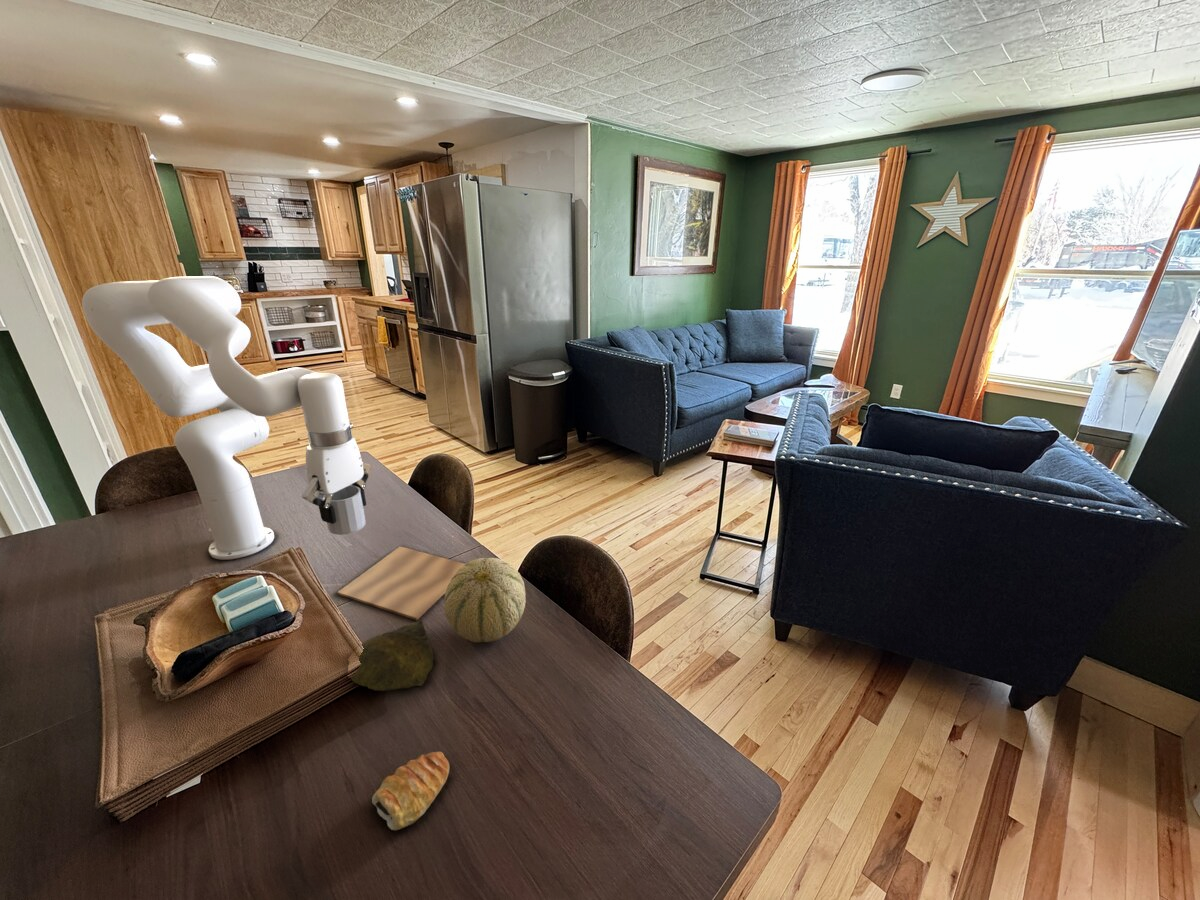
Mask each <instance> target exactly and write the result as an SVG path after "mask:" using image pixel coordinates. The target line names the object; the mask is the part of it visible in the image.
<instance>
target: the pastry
mask: <svg viewBox="0 0 1200 900" xmlns="http://www.w3.org/2000/svg"><path fill="white" fill-rule="evenodd" d="M450 768H451V767H450V762H449V760H448V759H447V758H446V757H445V754H444V753H443V752H442V751H432V752H430V753H426V754H419V756H418V757H417V758H415V759H410V760H409V761H407V763H406V764H403V765H401V766H399V767H398V768H396V770H395V771H394V773H393V774H392V775H387V776H386V777H384V779H383V781H382V782H381V785H380V787H379V788H378V789H377V790H376V791H375V793H374V794H373V795H372V797H371V803H372V805H374V807H375V808H376V812H377V814H378V815H379V817H381V818H382V819H383V820H385V821H386V824H387V827H388V828H389V829H390V830H391V831H399V830H402V829H404V828H406V827H408V826H409V827H410V826H411V825H413V824H414V823H416V822H417V821H418V820H419V819H420V818H421V817H422V816H423V815H424V814H425V813H426V811H427V810H428V809H429V808H430V806H431V804H433V802H434V800H435V799H436V797H437V796H438V794H439V793H440V792H441V791H442V788H443V787H444V786H445V784H446V782H447V780H448V777H449V774H450Z"/></svg>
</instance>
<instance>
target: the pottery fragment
mask: <svg viewBox="0 0 1200 900" xmlns="http://www.w3.org/2000/svg"><path fill="white" fill-rule="evenodd" d="M361 644H362V646H363V648H364V649H363V652H362V653H361V655H360V656H359V657H360V658H359V661H360V663H361V665H360V667H359V668H358V669H357V671H356V672H355V674H354V675H353V676H352V677H351V678H350V679H351V681H352V682H353V683H354V684H357V685H358V686H362V687H365V688H368V689H369V690H373V691H375V692H379V691H381V692H385V691H386V692H387V691H388V692H389V691H396V690H398V689H399V690H401V689H404V690H405V689H410V688H414V687H422V686H423V685H424V684H425V682H426V680H427V679H428V678H427V677H428V674H429V673H430V672H431V670H432V669H433V666H434V658H435V655H434V650H433V649H432V646H431V644H430V641H429V642H428V637H427V631H426V628H425V625H424V623H423V620H422V619H420V620H416V622H413V623H409V624H406V625H403V626H401V627H399V628H396V629H394V630H390V631H387V632H384V633H380V634H378V635H375V636H373V637H371V638H369V639H368V640H366V641H363V642H362V643H361Z"/></svg>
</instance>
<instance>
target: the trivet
mask: <svg viewBox="0 0 1200 900" xmlns="http://www.w3.org/2000/svg"><path fill="white" fill-rule="evenodd" d="M465 564H466V563H463V562H460V561H457V560H452V559H448V558H445V557H442V556H438V555H434V554H431V553H427V552H423V551H419V550H415V549H412V548H408V547H405V546H402V545H399V546H398V547H397V548H396V549H394V550H393V551H391V552H390V553H389V554H387V555H386V556H384V557H383V558H382V559H381V560H379V561H378V562H376V563H375V564H374V565H371V567H369V568H368V569H367V570H366V571H364V572H363V573H361V574H360V575H359V576H358V577H355V578H354V579H353V580H352V581H351V582H349V583H347V584H346V585H345V586H344V587H343V588H341V589H340V590H338V591H337V595H339V596H342V597H345V598H347V599H351V600H353V601H357V602H360V603H363V604H365V605H369V606H371V607H375V608H378V609H381V610H384V611H388V612H390V613H394V614H396V615H400V616H402V617H406V618H408V619H412V620H414V621H419V619H420V618H421V617H422V616H423V615H424V614H425V613H426V612H427V611H428V610H429V609H430V608H432V607H433V606H434V605H435V604H436V603H437V601H438V600H440V599H441V598H442V597H443V596H445V593H446V589H447V586H448V584H449V583H450V581H451V579H452V578H453V576H454V575H455V574H456V572H457V571H458V570H459V569H460V568H461V567H463V566H464V565H465Z"/></svg>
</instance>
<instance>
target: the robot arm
mask: <svg viewBox="0 0 1200 900" xmlns="http://www.w3.org/2000/svg"><path fill="white" fill-rule="evenodd" d="M81 306H82V311H83V314H84V317H85V320H86V321H87V322H86V323H88V325H89V327H90V328H91V330H92V331H93V332H94V334H95V336H97V337H98V339H100V340H101V341H102V342H103V344H104V345H106V346H107V347H108V348H109V349H110V350H111V351H112V352H114V353H115V355H117V356H118V357H119V358H120V359H121V360H122V362H123V363H124V364H125V365H126V367H127V368H128V370H129V371H130V372H131V374H132V375H133V376H134V377H135V379H136V380H137V382H138V383H139V384H140V386H141V387H142V389H143V390H144V391H145V392H146V394H147V395H148V397H149V398H150V399H151V401H152V402H153V403H154V404H155V406H156V407H157V408H158V409H159V410H160V411H161V412H162V413H163V414H165V415H166V416H168V417H171V418H184V417H188V416H192V415H195V414H199V413H203V412H206V411H210V410H213V409H217V410H218V411H219V412H217V413H214V414H210V415H206V416H203V417H200V418H197V419H195V420H192V421H189V422H187V423H185V424H183V425H182V426H181V427H180V428H178V430H177V431H176V432H175V434H174V445H175V447H176V449H177V451H178V453H179V455H180V456H181V458H182V459H183V461H184V463H185V464H186V466H187V468H188V470H189V472H190V475H191V477H192V479H193V482H194V484H195V487H196V490H197V493H198V496H199V499H200V502H201V505H202V508H203V510H204V511H203V512H204V514H205V517H206V520H207V523H208V526H209V528H208V530H207V532H208V533H210V534H211V535H212V537H213V541H212V543H211V544H210V545H209V547H208V553H209V555H210V557H212V558H213V559H216V560H222V561H223V560H225V561H226V560H228V561H229V560H236V559H241V558H245V557H248V556H251V555H254V554H256V553H258V552H260V551H262V550H264V549H265V548H267V547H269V546H270V545H271V544H272V543H273V541H274V539H275V533H274V531H273V530H272V529H271V528H269V527H266V526H265V525H264V523H263V519H262V516H261V512H260V508H259V506H258V502H257V498H256V495H255V491H254V487H253V484H252V480H251V478H250V475H249V472H248V470H247V469H246V468H245V466H243V465H241V464H240V463H239V462H238V461H236V460H234V456H235V455H237V454H240V453H241V452H244V451H246V450H250V449H252V448H254V447H257V446H258V445H260V444H263V443H264V442H265V441H266V440H267V439H268V438H269V435H270V426H269V423H268V421H267V418H268V417H269V418H270V417H273V416H276V415H280V414H282V413H285V412H288V411H291V410H294V409H297V408H300V407H301V410H302V414H303V419H304V423H305V429H306V433H307V439H308V442H309V445H307V446H306V447H305V468H306V470H305V471H306V477H307V482H308V483H307V484H308V485H307V486H306V488H305V489H304V491H303V492H302V494H301V498H302V499H304V500H305V501H307V502H309V503H310V504H312V505H315V506H317V507H318V511H319V515H320V519H321V521H322V522H325V523H327V522H328V523H331V524H334V523H336V517H335V513H334V508H333V506H331V505H330V503H331V499H332V495H333V493H335V492H337V491H339V490H341V489H343V488H345V487H347V486H349V485H353V486H357V487H359V488H360V490H361V496H362V501H363V507H365V506H367V499H366V494H365V493H366V492H365V489H366V488H367V484H366V483H367V481H368V479H369V474H370V472H371V470H372V464H369V463H366V462H364V461H363V459H362V456H361V452H360V449H359V446H358V444H357V441H356V439H355V437H354V436H353V435H352V429H354V424H353V423H352V422H350V418H349V412H348V407H347V406H348V405H347V401H346V395H345V388H344V384H343V380H342V378H341V377H340V376H339V375H338V374H336V373H332V372H318V371H313V370H311V369H309V368H305V367H299V366H298V367H297V366H295V367H290V368H287V369H286V368H285V369H282V370H277V371H273V372H268V373H265V374H260V375H257V376H255V375H254V374H252V373H251V372H250V371H248V370H247V369H245V367H243V365H241V364H240V363H238V361H237V360H236V359H235V358H237V356H239V355H240V354H241V353H242V352H244V350H245V349H246V348H247V346H248V345H249V343H250V341H251V338H252V337H251V335H252V334H251V329H250V328H249V327H248V326H247V325H246V323H244V322H243V321H242V320H241V319H239V318H238V317H237V316H238V314H240V311H241V309H242V300H241V297H240V295H239V293H238V291H237V290H236V288H234V286H233V285H231V284H230V283H229V282H228V281H226V280H224V279H223V278H220V277H217V276H213V275H202V276H201V275H200V276H198V275H197V276H174V277H167V278H166V277H165V278H161V279H159V280H131V281H113V282H105V283H101V284H98V285H95V286H92V287H90V288H89V289H87V290H86V291H85V293H83V296H82V299H81ZM168 324H171V325H172V326H173V327H174V328H176V329H177V330H178V331H179V332H181V333H182V334H183V335H185V337H187V338H188V339H190V340H191V341H192V342H193V343H194V344H196V345H197V346H198V347H200V349H202V350H203V351H204V352H206V353H207V354H208V357H207V360H208V361H207V362H208V363H207V364H200V365H196V366H191V365H188V364H187V363H186V362H185V360H184V359H183V358H182V356H181V355H180V353H179V352H178V350H177V348H175V347H174V346H173V345H172V344H171V343H169V342H168V341H167V340H165V339H164V338H162V337H161V336H159V335H157V334H155V333H153V332H151V331H149V330H147V329H146V328H145V327H149V326H158V325H159V326H160V325H168ZM266 417H267V418H266ZM315 493H316V496H315ZM324 494H325V499H324V500H323V496H324Z"/></svg>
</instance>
